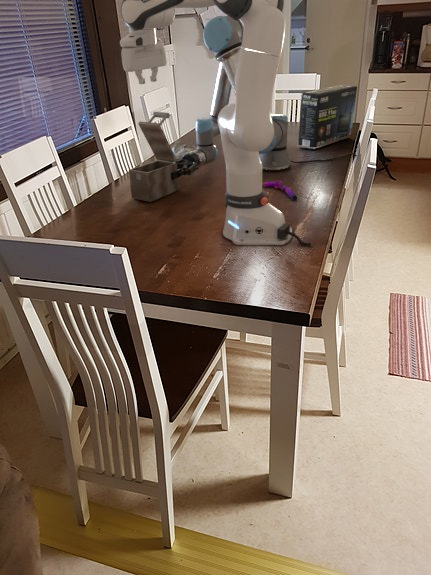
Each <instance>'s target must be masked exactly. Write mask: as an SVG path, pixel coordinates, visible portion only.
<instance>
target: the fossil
mask: <svg viewBox="0 0 431 575" xmlns="http://www.w3.org/2000/svg"><path fill="white" fill-rule="evenodd" d="M171 149H172V151H173V153H174V155H175V157H176V159H177V160H180V159H182V157H183V156H184V155H185V154H187V153H189V152H191V151H194V150H196V149H197V146H195V145H188V146H187V145H186V143H184V142H183V143H181V142H176V143H175V145H174V146H173V147H171Z"/></svg>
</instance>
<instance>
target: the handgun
mask: <svg viewBox="0 0 431 575" xmlns="http://www.w3.org/2000/svg"><path fill="white" fill-rule="evenodd" d="M262 185H263V187H264V188H274V189H280V190H281V192H285V193H286V194H287V195H288V196H289V197H290V198H291V199H292V201H297V200H298V195H296V194H295V193H294V192H293V191H292V189H291V188H290V187H288V186H287V185H286V184H285V183H284V182H283V181H282V180H275V181H263V182H262Z"/></svg>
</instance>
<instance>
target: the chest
mask: <svg viewBox="0 0 431 575" xmlns="http://www.w3.org/2000/svg"><path fill="white" fill-rule="evenodd" d="M176 170H178V169H177V164H176V163H172V162H166V161H163V160H157V159H156V160H154V161H151V162H148V163H144V164H142V165H139V166H136V167H132V168H130V169H128V177H129V185H130V194H131V199H134V200H140V201H145V202H149V203H151V202H154V201H156V200H158V199H161V198H163V197H165V196H168V195H170V194H173V193H175V192H177V191H179V184H178V178H176V179H174V180H171V173H172V172H174V171H176Z"/></svg>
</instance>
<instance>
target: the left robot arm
mask: <svg viewBox="0 0 431 575" xmlns="http://www.w3.org/2000/svg"><path fill="white" fill-rule="evenodd" d="M284 5H285V0H122V2H121V6H120V14H121V18H122V20H123V22H124V23H125V25H126V26H127V27H128V32H129V33H128V34H127V35H126V36H124V37H123V38H121V39H120V40H119V45H120V47H121V53H120V55H121V63H122V68H123V70H124V72H126V73H134V74H135V76H136V78H137V81H138V84H139V85H145V84H146V77H145V78H144V76H143V71H144V70H150V71H151V75H150V76H149V80H150V82H151V83H154V82H155V83H156V82H157V78H158V77H157V76H158V72H159V68H160V67H161V68H162V67H166V66H167V63H168V58H167V53H166V48H165V45H164V42H163V40H162V39H161V38H160V37H157V34H156V29H161V28H166V27H169V26H171V25H172V24H173V22H174V21H175V16H176V9H203V8H204V9H205V8H210V7H214V6H216V7H217V8H218V9H219V10H220V11H221V12H222V13H224V14H225V16H229V17H231V18H232V19H234V20H238V19H239V20H240V21H241V22H242V24H243V26H244V37H243V41H242V46H241V48H242V49H241V50H240V55H239V60H238V65H237V70H236V74H235V85H236V95H235V103H229V105H227V106H225V107H224V108H223V109H222V110H221V111H220V113H219V115H218V127H219V130H220V134H219V135H220V140H221V146H222V152H223V158H224V162H225V163H224V164H225V177H226V178H225V183H226V190H225V194H224V205H225V209H226V210H225V218H224V219H225V220H224V226H223V229H222V235H223V237H225V239H228V240H230V241H232V243H233V244H234V245H236V246H283V245H286V244H288V243H289V242H290V240H291V239H292V237H294V239H296V241H297V243H298V244H300V245H301V246H307V247H310V246H311V242H305V241H303V240H302V239H301V237H299V236H298V234H296V233H294V232H293V228H292V227H291V224H289V223H286V219H285V215H284V213H283V212H282V211H280V210H279V209H278V208H277V207H276V206H275V205H272V204H271V203H270V202H269V194H270V192H269V191H267V192H266V191H265V190H263V171H262V169H263V167H262V163H261V160H260V157H259V152H258V151H262V150H264V149H266V148H267V147H268V146H269V145H270V143H271V142H272V140H273V137H274V127H273V123H272V114H273V98H274V88H275V83H276V79H277V74H278V69H279V65H280V61H281V57H282V52H283V48H284V41H285V32H286V17H285V14H284V13H283V10H284Z"/></svg>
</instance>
